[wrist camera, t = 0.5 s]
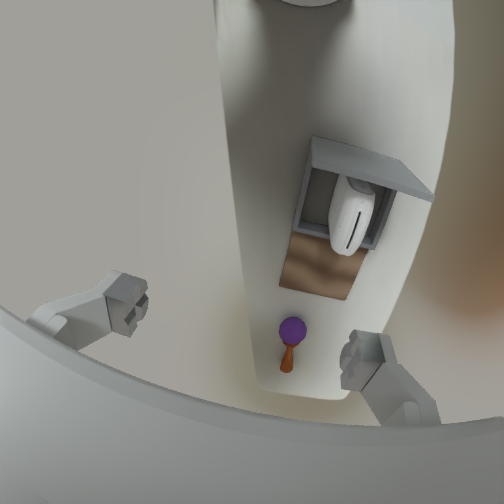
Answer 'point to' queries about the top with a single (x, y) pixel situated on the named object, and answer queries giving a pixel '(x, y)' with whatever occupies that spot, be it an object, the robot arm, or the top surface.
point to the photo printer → (350, 214)
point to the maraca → (291, 339)
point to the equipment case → (363, 168)
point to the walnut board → (319, 267)
